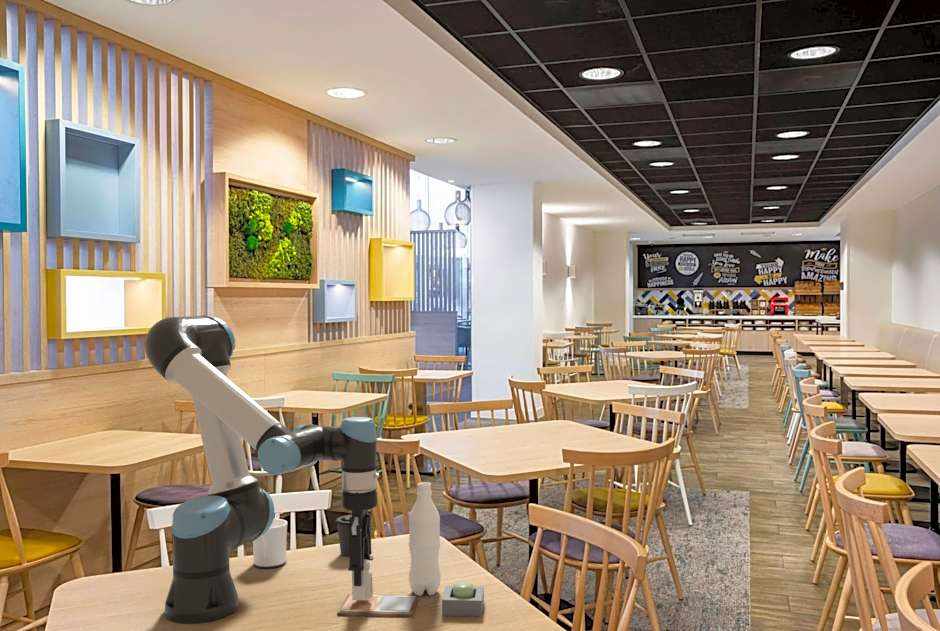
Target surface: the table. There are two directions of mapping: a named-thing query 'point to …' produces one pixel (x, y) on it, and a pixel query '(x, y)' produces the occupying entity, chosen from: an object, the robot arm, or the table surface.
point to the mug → (271, 546)
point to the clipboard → (379, 606)
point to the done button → (463, 590)
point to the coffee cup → (343, 534)
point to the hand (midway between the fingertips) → (361, 595)
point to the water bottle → (424, 543)
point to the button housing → (463, 603)
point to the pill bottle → (368, 580)
